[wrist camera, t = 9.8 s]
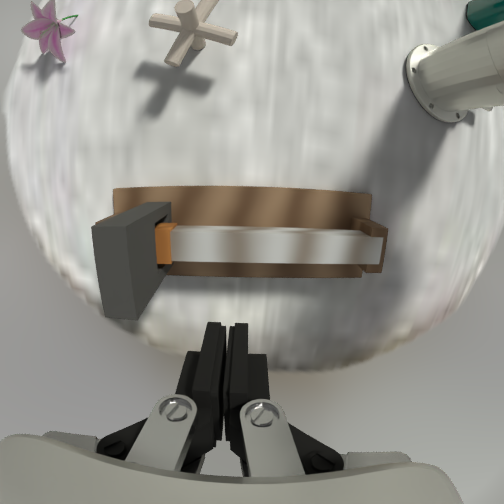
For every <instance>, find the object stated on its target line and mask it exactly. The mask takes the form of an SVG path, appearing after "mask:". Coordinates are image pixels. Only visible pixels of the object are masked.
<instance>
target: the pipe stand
mask: <svg viewBox="0 0 504 504" xmlns="http://www.w3.org/2000/svg"><path fill="white" fill-rule="evenodd" d="M113 199H114V215H112V216H109V217H107V218H105V219H103V220H100V221H98V222H96V223H95V225H96V224H98V223H100V222H103V221H105V220H107V219H109V218H111V217H114V216H116V215H118V214H120V213H123V212H125V211H127V210H129V209H132V208H134V207H137V206H139V205H141V204H144V203H146V202H171V216H172V223H159V224H158V225H156V226H155V242H156V256H157V264H172V262H173V261H174V264H173V265H172V267H171V268H170V270H169V271H168V273H167V274H166V275H180V276H215V277H271V278H361V277H362V271H364V272H366V273H381V272H382V267H383V261H384V255H385V249H386V242H387V235H388V228H386V227H384V226H382V225H380V224H378V223H376V222H373V221H371V220H370V210H371V200H372V195H371V194H365V193H354V192H343V191H330V190H316V189H300V188H280V187H252V186H161V187H134V188H116V189H113Z"/></svg>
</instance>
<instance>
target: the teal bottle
mask: <svg viewBox="0 0 504 504" xmlns="http://www.w3.org/2000/svg"><path fill="white" fill-rule="evenodd" d="M467 18H468V21H469V23H470V24H471V25H472V26H473V27H474V28H475V29H476V30H477V31H478V30H480V29H483V28H486V27H488V26H491V25H494V24H496V23H499V22H502V21H504V0H472V1H470V2H468V9H467Z"/></svg>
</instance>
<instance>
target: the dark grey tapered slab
mask: <svg viewBox="0 0 504 504" xmlns="http://www.w3.org/2000/svg"><path fill="white" fill-rule="evenodd" d="M159 223H172V216H171V202H146V203H144V204H141V205H139V206H137V207H134V208H132V209H129V210H127V211H125V212H123V213H120V214H118V215H116V216H114V217H111V218H109V219H107V220H105V221H103V222H100V223H98V224H96V225H94V226H92V227H91V229H92V239H93V248H94V256H95V263H96V270H97V276H98V282H99V288H100V293H101V298H102V304H103V308H104V313H105V317H109V318H118V319H128V320H138V318H139V317H140V315H141V314H142V312H143V310H144V309H145V307H146V306H147V304H148V302H149V301H150V299H151V298H152V296H153V294H154V293H155V291H156V290H157V288H158V287H159V285H160V284H161V282H162V281H163V279H164V277H165V276H166V274H167V273H168V271H169V270H170V268H171V267H172V265H173V264H174V261H173V262H172V264H157V256H156V242H155V226H156V225H158V224H159Z"/></svg>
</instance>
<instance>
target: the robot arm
mask: <svg viewBox="0 0 504 504" xmlns="http://www.w3.org/2000/svg"><path fill="white" fill-rule="evenodd" d="M406 72H407V77H408V81H409V84H410V87H411V89H412V91H413V93H414V95H415V97H416V98H417V100H418V101H419V103H420V104H421V105H422V107H423V108H424V109H425V110H426V111H427V112H428V113H429V114H430V115H432V116H433V117H435V118H436V119H438V120H440V121H443V122H447V123H448V122H457V121H460V120H462V119H463V118H464V117H465V116H466V114H467V112H468V110H469V109H477V108H483V109H485V110H487V111H491V110H492V108H493V107H495V106H504V21H502V22H499V23H496V24H494V25H491V26H488V27H486V28H483V29H480V30H478V31H475V32H473V33H471V34H468V35H466V36H463V37H461V38H459V39H457V40H454V41H452V42H450V43H448V44H445V45H443V46H441V47H437V46H435V45H431V44H421V45H419V46H417V47H415V48H414V49H412V51H411V52H410V53H409V55H408V58H407V63H406ZM223 419H225V435H226V441H230V450H231V451H233V452H234V453H235V454H236V455H237V456H239V457H240V463H241V469H242V475H243V477H229V476H213V475H203V474H200V471H201V468H202V465H203V462H204V459H205V453H207V452H209V451H210V450H212V449H213V447H216V440H220V441H221V440H222V431H223ZM0 504H463V501H462V499H461V497H460V495H459V493H458V491H457V490H456V487H455V486H454V484H453V483H452V481H451V480H450V478H449V477H448V476H447V474H446V473H445V472H444V471H443V470H441V469H440V468H438V467H436V466H434V465H430V464H425V463H416V462H412V461H411V459H410V458H409V457H408V456H407V454H404V453H402V452H348V453H347V454H339V453H338V452H336V451H335V450H333V449H332V448H330V447H328V446H326V445H324V444H323V443H321V442H319V441H317V440H316V439H314V438H312V437H310V436H309V435H307V434H305V433H303V432H302V431H300V430H299V429H297V428H296V427H294V426H292V425H291V424H289V423H288V422H287V419H286V416H285V413H284V411H283V409H282V407H281V406H280V405H278V404H277V403H275V402H273V401H271V400H270V395H269V382H268V369H267V357H266V354H248V323H235V326H230V330H229V339H228V348H226V326H221V322H208V323H207V327H206V331H205V335H204V339H203V344H202V348H201V352H197V351H188V352H187V354H186V358H185V361H184V365H183V368H182V372H181V375H180V379H179V382H178V386H177V389H176V393H175V394H174V395H168V396H165V397H163V398H161V399H160V400H159V401H158V402H157V403H156V405H155V407H154V408H153V410H152V412H151V414H150V416H149V417H148V418H146V419H144V420H142V421H140V422H137V423H135V424H133V425H131V426H129V427H126V428H124V429H122V430H119V431H117V432H114V433H112V434H110V435H107V436H106V437H104V438H102V439H97V437H96V436H88V435H79V434H71V433H64V432H57V431H49V432H47V433H45V434H44V435H43V436H38V435H30V434H15V435H10V436H7V437H5V438H4V439H2V440H1V441H0Z"/></svg>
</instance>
